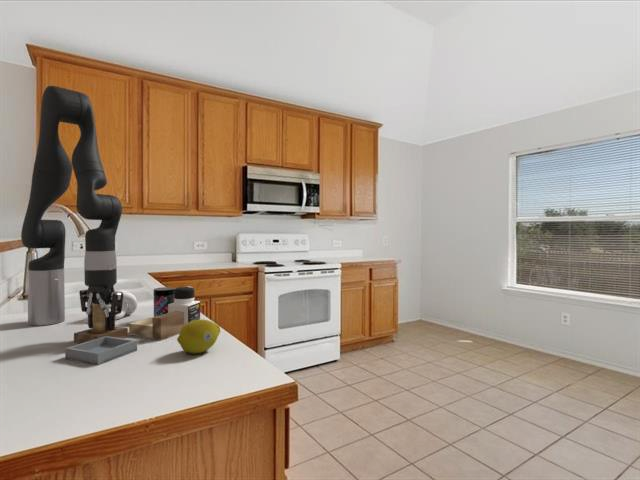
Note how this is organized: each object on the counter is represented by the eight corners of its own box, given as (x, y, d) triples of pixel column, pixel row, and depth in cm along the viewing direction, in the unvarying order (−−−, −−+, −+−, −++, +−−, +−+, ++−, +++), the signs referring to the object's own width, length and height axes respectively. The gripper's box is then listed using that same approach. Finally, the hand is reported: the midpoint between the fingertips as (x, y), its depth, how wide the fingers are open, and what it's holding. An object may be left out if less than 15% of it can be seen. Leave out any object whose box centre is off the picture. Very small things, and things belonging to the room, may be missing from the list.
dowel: (89, 340, 99) (89, 304, 98) (102, 336, 102) (102, 301, 102) (100, 342, 97) (99, 305, 97) (113, 338, 101) (113, 302, 101)
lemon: (181, 361, 84) (180, 326, 84) (172, 351, 90) (172, 319, 90) (226, 352, 90) (226, 320, 90) (215, 344, 97) (215, 314, 96)
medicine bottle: (188, 328, 112) (188, 289, 111) (167, 327, 113) (167, 288, 113) (200, 322, 119) (200, 286, 118) (180, 321, 120) (180, 285, 120)
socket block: (74, 342, 97) (73, 333, 97) (104, 333, 106) (104, 325, 106) (98, 346, 94) (98, 336, 94) (127, 336, 102) (127, 328, 102)
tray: (65, 358, 85) (65, 348, 85) (106, 345, 95) (106, 335, 95) (98, 365, 81) (98, 353, 81) (137, 350, 91) (137, 340, 91)
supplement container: (150, 319, 123) (150, 288, 123) (171, 316, 127) (171, 286, 127) (157, 323, 118) (156, 291, 118) (178, 319, 122) (178, 289, 122)
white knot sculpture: (139, 312, 133) (139, 287, 133) (135, 319, 122) (135, 293, 122) (104, 314, 129) (103, 289, 129) (96, 322, 118) (96, 295, 118)
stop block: (152, 339, 101) (152, 317, 100) (176, 330, 109) (175, 310, 109) (161, 340, 100) (160, 318, 99) (184, 331, 108) (184, 311, 108)
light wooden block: (129, 335, 105) (128, 323, 105) (151, 328, 113) (150, 317, 113) (155, 339, 102) (155, 326, 102) (176, 331, 109) (176, 320, 109)
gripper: (68, 267, 98) (69, 329, 99) (107, 270, 93) (108, 335, 94) (94, 265, 105) (95, 323, 106) (132, 267, 100) (132, 328, 101)
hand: (101, 328), depth 100 cm, fingers open, 5 cm apart
